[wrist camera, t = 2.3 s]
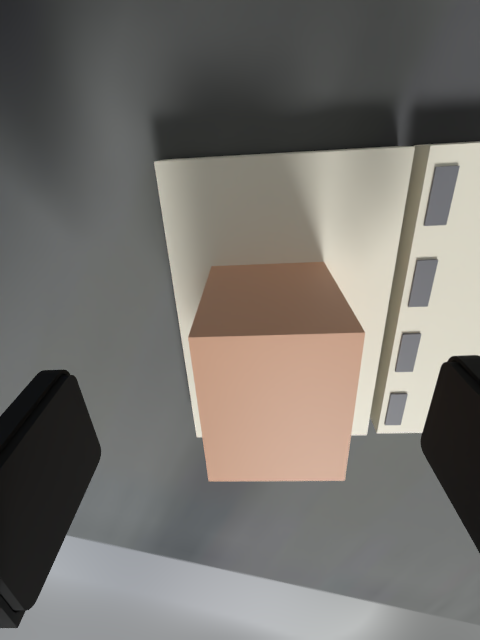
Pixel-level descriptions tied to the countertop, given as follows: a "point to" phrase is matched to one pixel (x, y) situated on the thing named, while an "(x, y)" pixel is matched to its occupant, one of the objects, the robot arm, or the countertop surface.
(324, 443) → the stub
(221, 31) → the countertop surface
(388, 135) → the countertop surface
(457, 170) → the cream panel with window
